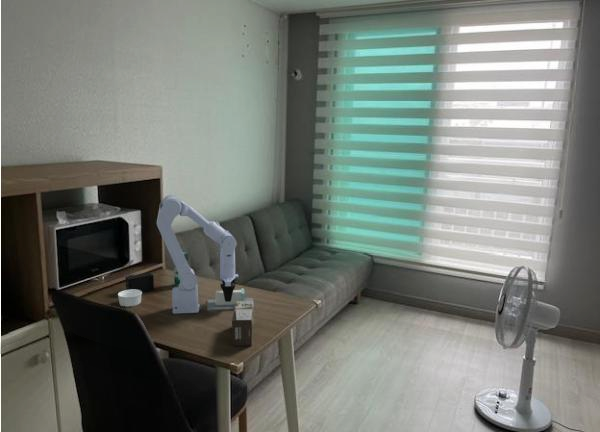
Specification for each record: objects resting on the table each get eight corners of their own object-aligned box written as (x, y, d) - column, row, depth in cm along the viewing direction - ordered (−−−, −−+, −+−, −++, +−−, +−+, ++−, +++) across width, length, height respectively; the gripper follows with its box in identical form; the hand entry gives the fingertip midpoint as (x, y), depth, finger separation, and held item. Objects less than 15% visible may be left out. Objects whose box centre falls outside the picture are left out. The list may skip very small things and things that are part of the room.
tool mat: (206, 310, 175) (206, 309, 175) (207, 301, 185) (207, 299, 185) (254, 308, 178) (254, 307, 178) (252, 299, 188) (252, 298, 187)
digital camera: (149, 286, 200) (149, 271, 198) (154, 290, 196) (153, 274, 194) (125, 291, 194) (124, 275, 192) (129, 295, 189) (128, 279, 188)
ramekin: (119, 300, 184) (118, 290, 183) (142, 298, 186) (141, 288, 186) (117, 308, 176) (117, 298, 175) (142, 306, 178) (141, 295, 177)
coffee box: (235, 301, 161) (231, 319, 145) (253, 300, 162) (252, 319, 146) (235, 325, 163) (231, 346, 147) (253, 325, 163) (252, 346, 148)
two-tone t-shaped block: (215, 306, 177) (215, 294, 176) (215, 301, 183) (215, 289, 182) (244, 305, 179) (244, 293, 178) (244, 300, 185) (244, 288, 184)
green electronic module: (174, 283, 204) (172, 251, 201) (187, 282, 206) (187, 250, 203) (175, 288, 198) (174, 254, 196) (189, 286, 201) (188, 253, 198)
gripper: (238, 269, 172) (238, 304, 174) (237, 258, 186) (237, 290, 188) (219, 270, 171) (219, 304, 173) (220, 259, 185) (220, 291, 187)
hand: (228, 297), depth 181 cm, fingers open, 7 cm apart
